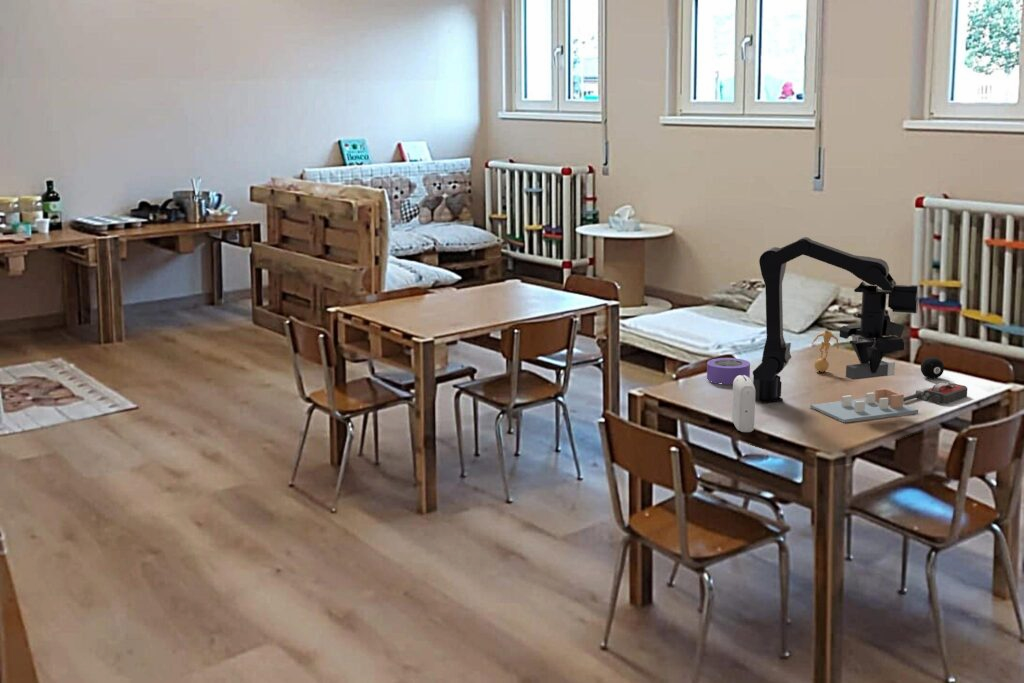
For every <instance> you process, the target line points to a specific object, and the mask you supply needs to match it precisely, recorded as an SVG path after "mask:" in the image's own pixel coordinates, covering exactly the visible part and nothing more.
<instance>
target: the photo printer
mask: <svg viewBox="0 0 1024 683" xmlns="http://www.w3.org/2000/svg"><path fill="white" fill-rule="evenodd" d="M755 412H756V400H755V387H754V384H753V380H752V379H751V378H749V377H747V376H745V375H743V376H741V375H739V376H737V377H736V378H735V379H734V381H733V385H732V406H731V421H732V423H733V424H734V427H735V428H736V430H737V431H740V432H741V433H752V432H753V431H754V428H755V415H756V414H755Z"/></svg>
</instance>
